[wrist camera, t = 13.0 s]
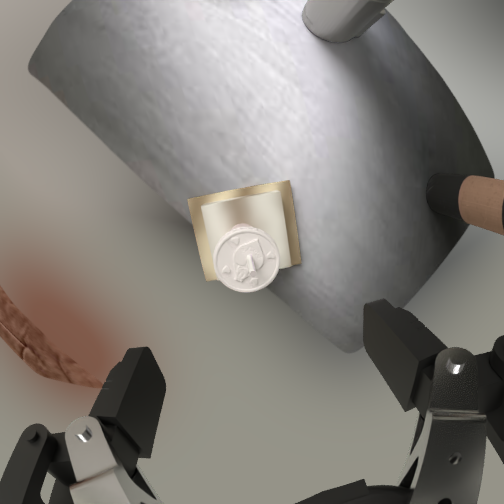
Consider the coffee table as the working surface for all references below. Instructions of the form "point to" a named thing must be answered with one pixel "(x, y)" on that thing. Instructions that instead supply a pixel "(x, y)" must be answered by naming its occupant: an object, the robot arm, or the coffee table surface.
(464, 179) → the travel mug
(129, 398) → the robot arm
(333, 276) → the coffee table surface
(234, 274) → the smoothie
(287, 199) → the base
